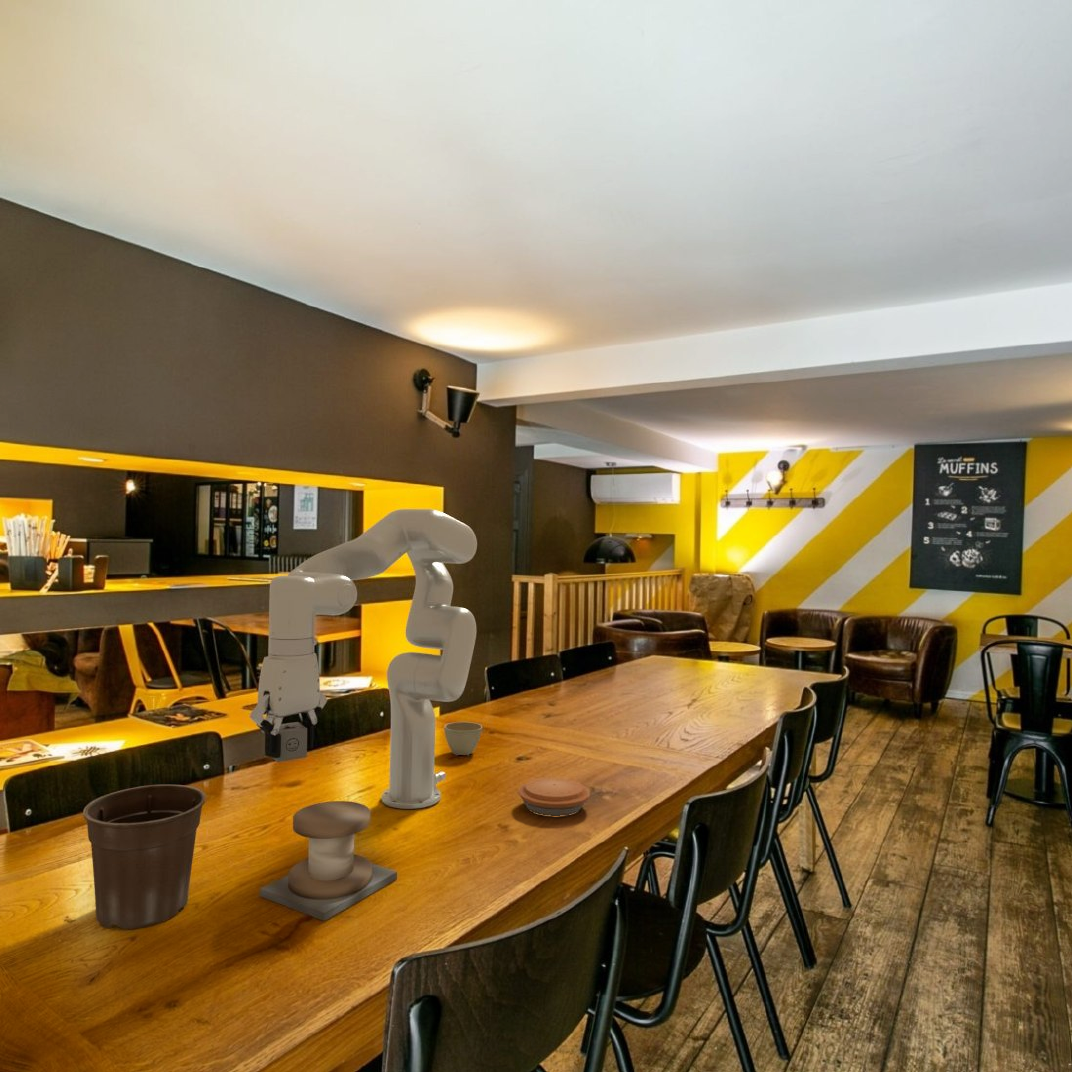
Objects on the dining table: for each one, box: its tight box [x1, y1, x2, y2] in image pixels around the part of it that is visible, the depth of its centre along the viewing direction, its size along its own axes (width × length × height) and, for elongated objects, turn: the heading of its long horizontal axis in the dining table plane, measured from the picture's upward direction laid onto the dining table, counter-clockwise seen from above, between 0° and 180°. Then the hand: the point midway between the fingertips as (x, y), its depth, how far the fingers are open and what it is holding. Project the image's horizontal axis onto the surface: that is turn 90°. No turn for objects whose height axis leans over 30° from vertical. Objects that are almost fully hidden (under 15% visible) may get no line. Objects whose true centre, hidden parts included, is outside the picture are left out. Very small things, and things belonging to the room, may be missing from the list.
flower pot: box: [443, 721, 483, 756], centre depth 193 cm, size 10×10×7 cm
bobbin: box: [259, 800, 398, 922], centre depth 117 cm, size 16×14×12 cm
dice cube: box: [272, 721, 308, 763], centre depth 126 cm, size 5×5×5 cm
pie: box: [517, 776, 591, 816], centre depth 155 cm, size 15×16×5 cm
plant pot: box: [82, 784, 207, 930], centre depth 109 cm, size 16×16×16 cm
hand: (289, 750), depth 126 cm, fingers closed on dice cube, 6 cm apart
